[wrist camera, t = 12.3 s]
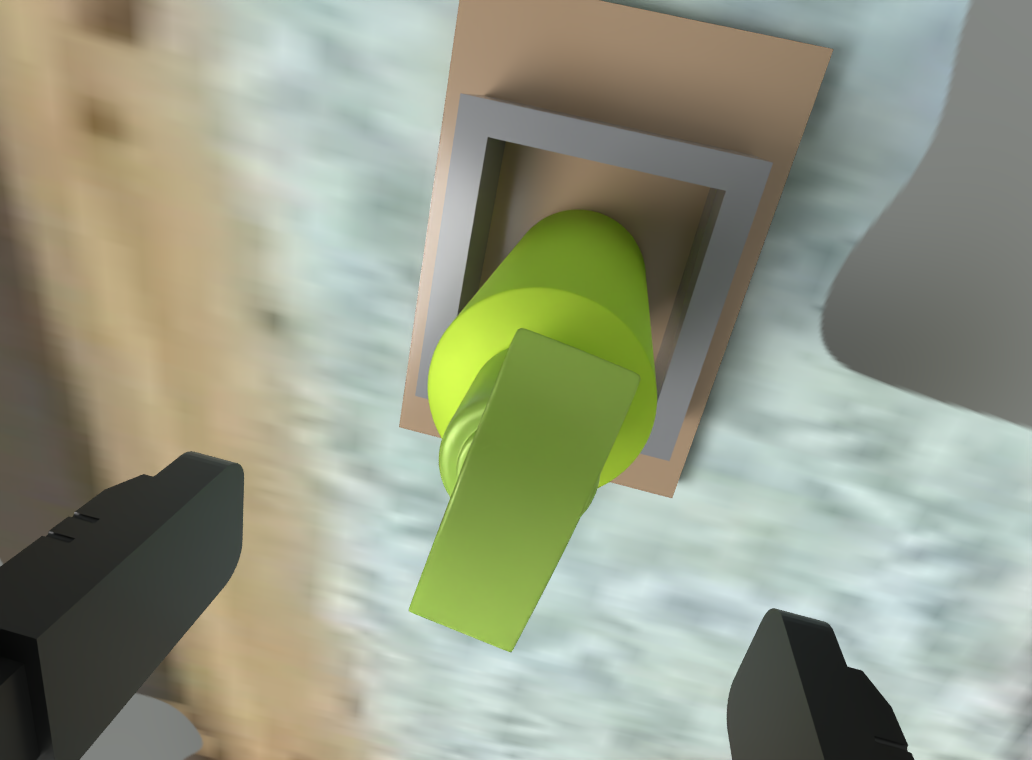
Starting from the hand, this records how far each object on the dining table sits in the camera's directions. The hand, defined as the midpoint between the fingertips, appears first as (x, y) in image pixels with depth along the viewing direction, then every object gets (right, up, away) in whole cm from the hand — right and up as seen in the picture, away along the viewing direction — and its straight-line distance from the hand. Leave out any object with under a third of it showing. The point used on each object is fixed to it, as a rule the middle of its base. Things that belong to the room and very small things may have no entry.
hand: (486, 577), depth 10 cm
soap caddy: (+3, +8, +20) cm, 22 cm away
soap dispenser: (+3, +8, +19) cm, 21 cm away
